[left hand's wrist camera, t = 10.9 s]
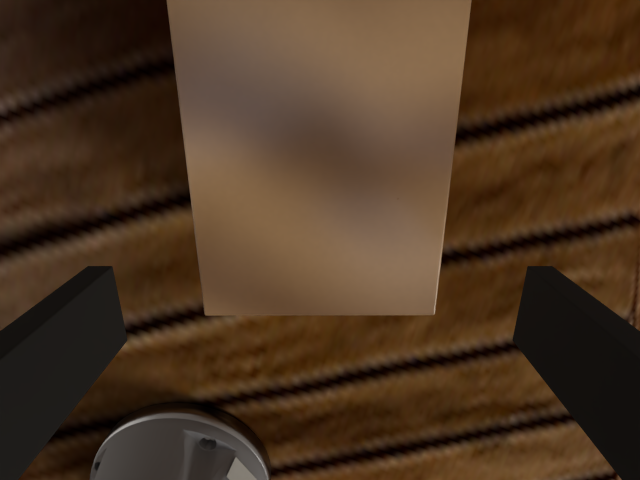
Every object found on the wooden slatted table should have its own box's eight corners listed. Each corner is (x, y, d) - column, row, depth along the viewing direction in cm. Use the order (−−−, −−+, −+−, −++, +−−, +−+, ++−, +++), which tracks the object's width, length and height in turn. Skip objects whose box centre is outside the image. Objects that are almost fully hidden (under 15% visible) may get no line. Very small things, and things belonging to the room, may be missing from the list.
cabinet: (222, -55, 22) (144, -173, 12) (416, -55, 22) (492, -174, 12) (244, 240, 28) (204, 316, 18) (395, 239, 28) (435, 316, 18)
